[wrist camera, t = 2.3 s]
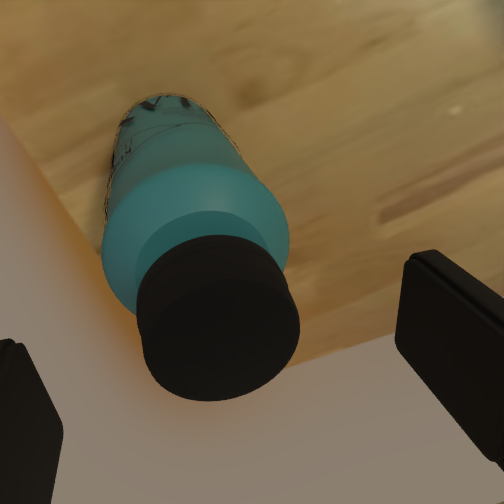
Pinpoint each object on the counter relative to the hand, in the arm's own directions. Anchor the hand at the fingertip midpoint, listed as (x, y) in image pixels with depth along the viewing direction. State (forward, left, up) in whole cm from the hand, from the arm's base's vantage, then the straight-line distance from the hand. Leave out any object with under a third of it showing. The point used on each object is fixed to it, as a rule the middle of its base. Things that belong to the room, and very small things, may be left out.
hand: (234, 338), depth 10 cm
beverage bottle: (0, 0, -20) cm, 20 cm away
